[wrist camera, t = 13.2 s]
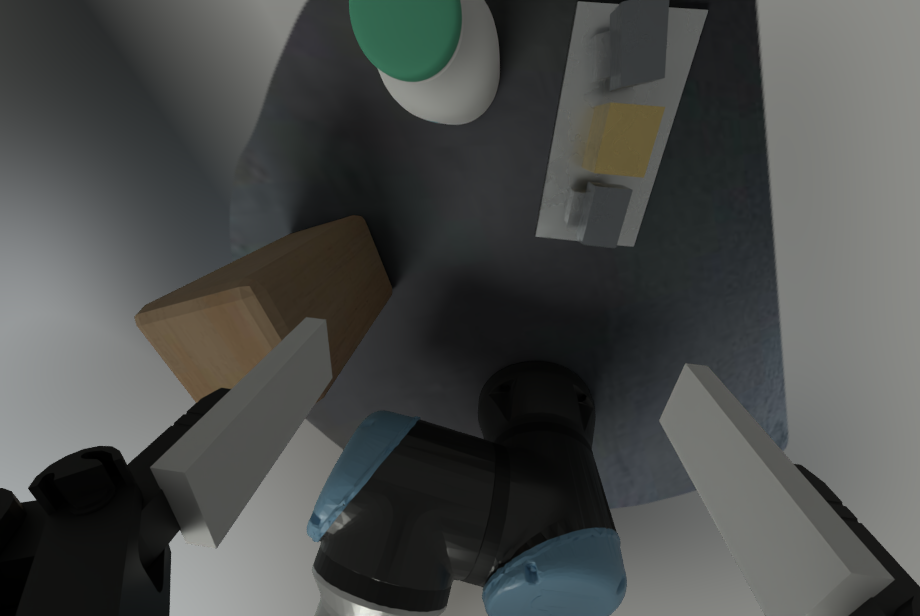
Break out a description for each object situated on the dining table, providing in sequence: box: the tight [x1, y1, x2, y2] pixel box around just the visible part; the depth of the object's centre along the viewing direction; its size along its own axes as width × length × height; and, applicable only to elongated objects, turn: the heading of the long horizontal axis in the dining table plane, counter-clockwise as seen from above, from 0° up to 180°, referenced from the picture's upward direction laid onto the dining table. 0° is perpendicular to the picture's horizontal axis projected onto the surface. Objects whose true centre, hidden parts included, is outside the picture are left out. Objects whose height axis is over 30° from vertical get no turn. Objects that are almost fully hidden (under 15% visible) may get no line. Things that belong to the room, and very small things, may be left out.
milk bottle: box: [349, 0, 500, 125], centre depth 23 cm, size 8×8×20 cm
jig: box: [535, 0, 708, 248], centre depth 30 cm, size 19×10×6 cm, turn 175°
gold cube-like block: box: [582, 102, 665, 178], centre depth 30 cm, size 5×4×5 cm
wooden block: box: [135, 215, 392, 403], centre depth 32 cm, size 10×10×20 cm
